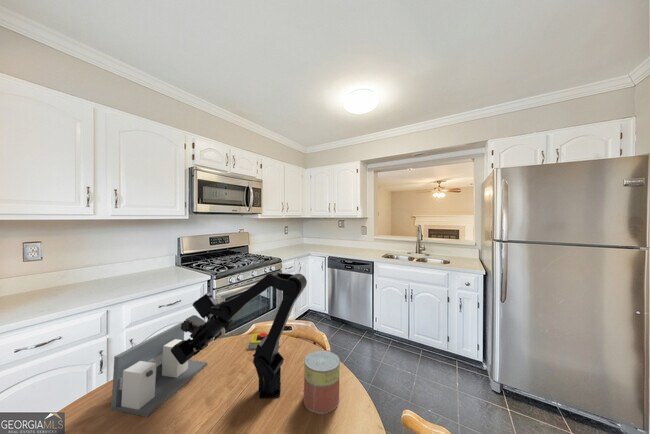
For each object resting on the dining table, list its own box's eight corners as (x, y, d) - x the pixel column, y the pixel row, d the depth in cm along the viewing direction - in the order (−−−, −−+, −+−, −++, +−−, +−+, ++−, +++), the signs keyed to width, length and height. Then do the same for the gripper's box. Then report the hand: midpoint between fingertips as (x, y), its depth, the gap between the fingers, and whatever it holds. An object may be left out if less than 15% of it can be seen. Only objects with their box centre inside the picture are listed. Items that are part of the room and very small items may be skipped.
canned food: (335, 385, 78) (335, 349, 78) (343, 411, 67) (344, 369, 67) (302, 388, 76) (302, 351, 76) (305, 416, 65) (305, 372, 65)
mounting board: (207, 364, 88) (208, 325, 88) (147, 416, 63) (149, 361, 64) (179, 361, 90) (181, 322, 90) (111, 409, 66) (114, 356, 66)
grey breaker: (156, 397, 69) (158, 363, 70) (140, 410, 65) (142, 373, 65) (138, 393, 71) (140, 360, 71) (121, 406, 66) (123, 370, 66)
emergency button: (250, 330, 109) (281, 329, 111) (249, 340, 108) (281, 338, 111) (246, 340, 99) (281, 338, 102) (245, 350, 99) (280, 348, 101)
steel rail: (183, 348, 89) (184, 340, 89) (121, 390, 66) (121, 379, 66) (181, 348, 89) (181, 340, 89) (118, 389, 66) (119, 379, 66)
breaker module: (189, 369, 83) (190, 341, 83) (178, 378, 78) (179, 348, 78) (173, 366, 84) (174, 339, 84) (161, 375, 79) (163, 346, 80)
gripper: (215, 301, 90) (190, 327, 91) (177, 320, 71) (145, 352, 73) (233, 323, 88) (207, 349, 89) (198, 348, 70) (166, 380, 71)
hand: (183, 356), depth 81 cm, fingers closed, pressing on breaker module
